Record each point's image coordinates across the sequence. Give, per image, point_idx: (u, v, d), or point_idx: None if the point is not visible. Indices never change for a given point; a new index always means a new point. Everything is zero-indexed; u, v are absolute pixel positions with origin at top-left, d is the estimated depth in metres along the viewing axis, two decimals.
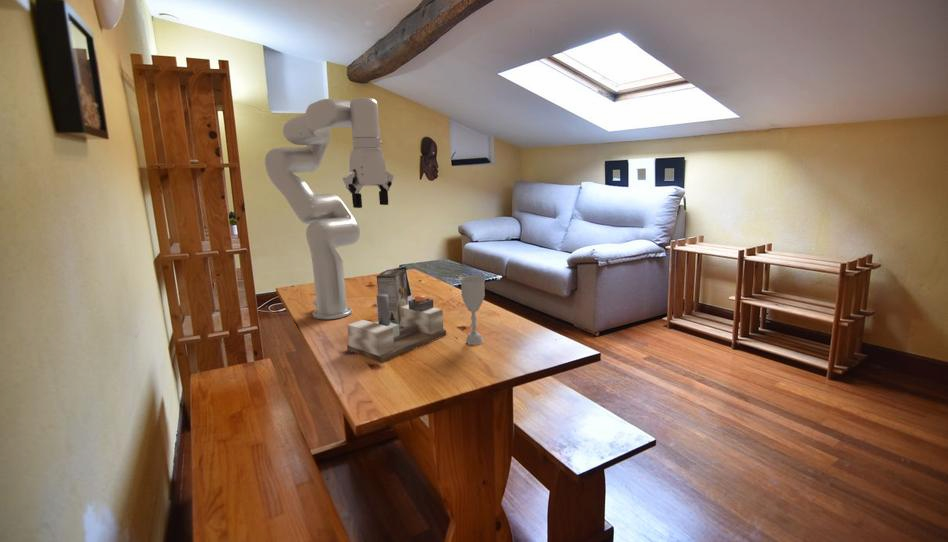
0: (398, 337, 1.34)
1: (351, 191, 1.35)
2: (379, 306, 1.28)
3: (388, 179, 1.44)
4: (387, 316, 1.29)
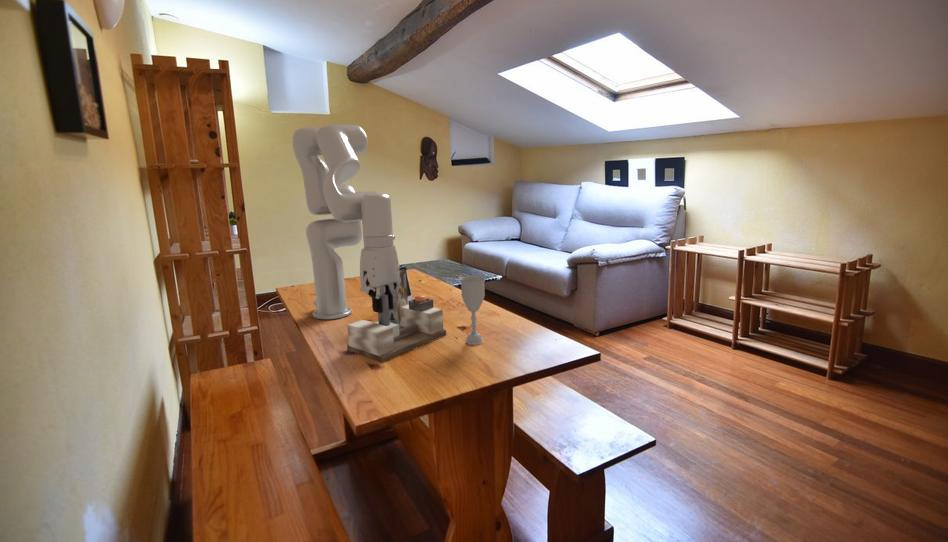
0: (398, 337, 1.34)
1: (371, 296, 1.27)
2: None
3: None
4: (387, 316, 1.29)
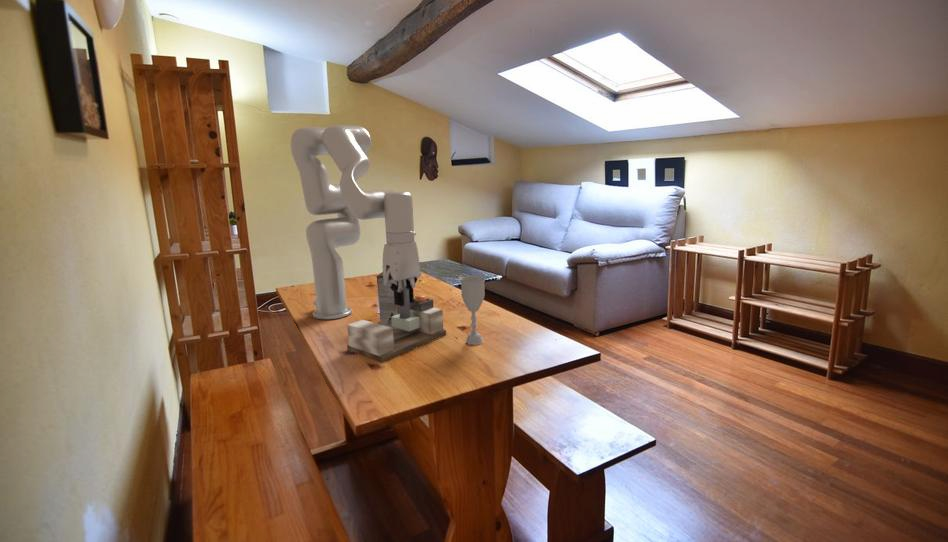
0: (398, 337, 1.34)
1: (393, 290, 1.32)
2: None
3: (415, 275, 1.38)
4: (408, 309, 1.35)
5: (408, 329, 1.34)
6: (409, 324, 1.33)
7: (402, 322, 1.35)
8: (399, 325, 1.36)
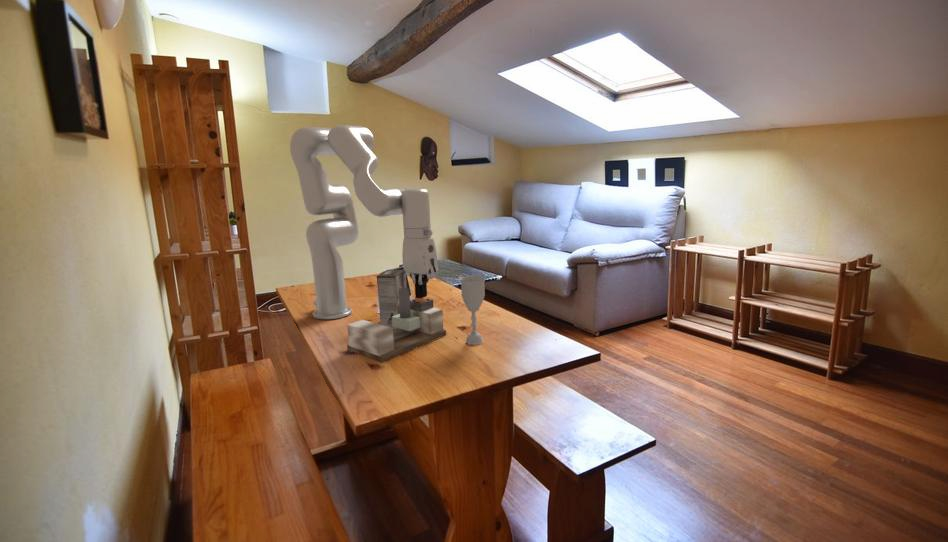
0: (398, 337, 1.34)
1: None
2: (401, 299, 1.34)
3: (428, 275, 1.37)
4: (408, 309, 1.35)
5: (408, 329, 1.34)
6: (409, 324, 1.34)
7: (403, 321, 1.35)
8: (400, 325, 1.36)
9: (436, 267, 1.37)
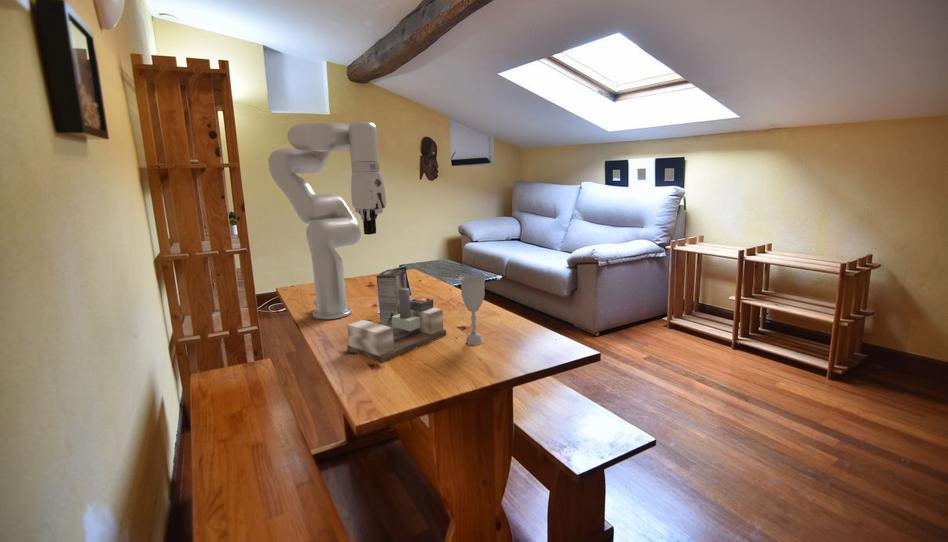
0: (398, 337, 1.34)
1: None
2: (401, 299, 1.34)
3: None
4: (408, 309, 1.35)
5: (408, 329, 1.34)
6: (409, 324, 1.34)
7: (403, 321, 1.35)
8: (400, 325, 1.36)
9: (384, 202, 1.36)
